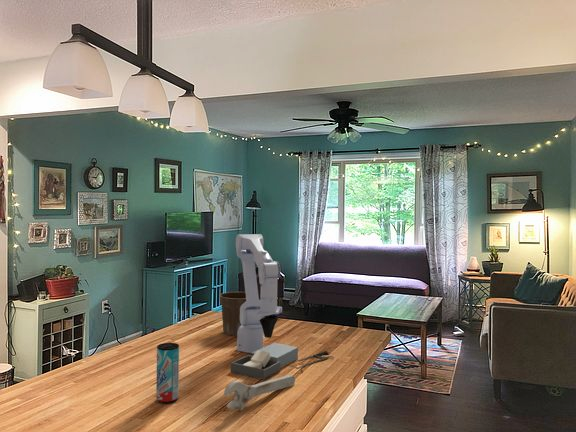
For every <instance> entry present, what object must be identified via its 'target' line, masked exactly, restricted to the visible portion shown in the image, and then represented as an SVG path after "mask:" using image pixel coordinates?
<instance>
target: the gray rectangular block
mask: <svg viewBox="0 0 576 432" xmlns="http://www.w3.org/2000/svg"><path fill="white" fill-rule="evenodd" d="M263 347H264V348H261V349H259V350H260V351H266V352H269V354H270V357H271V358H270V360H273V361H278V362H280V369H281V368H283V367H285V366H287V365H289V364H290V363H293V362H295V361H297V360H299V359H298V358H299V347H298V346H292V345H288V344H283V343H279V342H278V343H276V342H272V343H271V344H268V345H266V346H263ZM256 352H257V351H255V352H252V353H251V354H252V355H251V356H254V354H255V353H256Z"/></svg>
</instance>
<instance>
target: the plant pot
mask: <svg viewBox="0 0 576 432" xmlns="http://www.w3.org/2000/svg"><path fill="white" fill-rule="evenodd" d="M218 296H219V299H220V306H221V318H222V332H223V334H225V335H230V336H234V337H235V336H236V337H237V332H238V329H239V327H240V326H241V323H240V307H241V305H242V304H244V303H245V302H246V293H245V291H227V292H222V293H220V294H219V295H218Z"/></svg>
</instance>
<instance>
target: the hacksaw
mask: <svg viewBox="0 0 576 432" xmlns="http://www.w3.org/2000/svg"><path fill="white" fill-rule="evenodd" d="M329 353H330V352H328V350H324V351H321V352H319V353H315V354H313V355H311V356H310V355H309V356H308V357H304V358H300V359H296V362H303V361H306V360H308V359H313V358H317V359H316V360H313V361H312V362H311V361H310V362H309V363H308V362H307V363H306V364H303V365H301V366H298V367H296V366H294V365H289V364H287V365H286V366H288V367H291V368H295V369H296V370H300V372H297V373H295V374H303V373H304V371H303V369H304V368H307V366H310V365H313V364H317V363H320V362H323V361H326V360H329V359H330V358H332V360H333V359H335V357H334V356H333V355H332V356H331V355H329ZM327 355H329V356H327ZM292 374H294V372H292Z"/></svg>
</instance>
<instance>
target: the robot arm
mask: <svg viewBox="0 0 576 432" xmlns="http://www.w3.org/2000/svg"><path fill="white" fill-rule="evenodd" d="M264 242H265V241H264V236H263V235H262V234H261V233H259V234H257V233H255V234H249V233H248V234H240V233H238V234H237V235H236V237H235V251H236V255H237V258H239V259H240V261H241V264H242V265H241V266H242V274H243V282H244V292H245V293H246V302H245V303H244V304H242V305H241V307H240V323H241V326H240V327H239V329H238V332H237V336H236V337H237V339H236V341H237V342H236V348H235V350H236V351H240V352H243V353H248V354H252V352H255V351H257V350H259V349H261V348H264V347H265V346H264V338H268V339H270V338H272V336H273V333H274V329H275V327H276V323H277V321H278V320H279V316H278V315H279V314H281V313H283V307H282V306H278V279H280V278H281V265H280V263H279V261H276V260H275V261H274V260H273V259H272V257H271V255H270V254H269V251H267V250H265V249H264ZM255 264H256V265H255ZM256 266H257V268H258V278H259V284H260V297H259V289H258V282H257V272H256Z"/></svg>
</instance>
